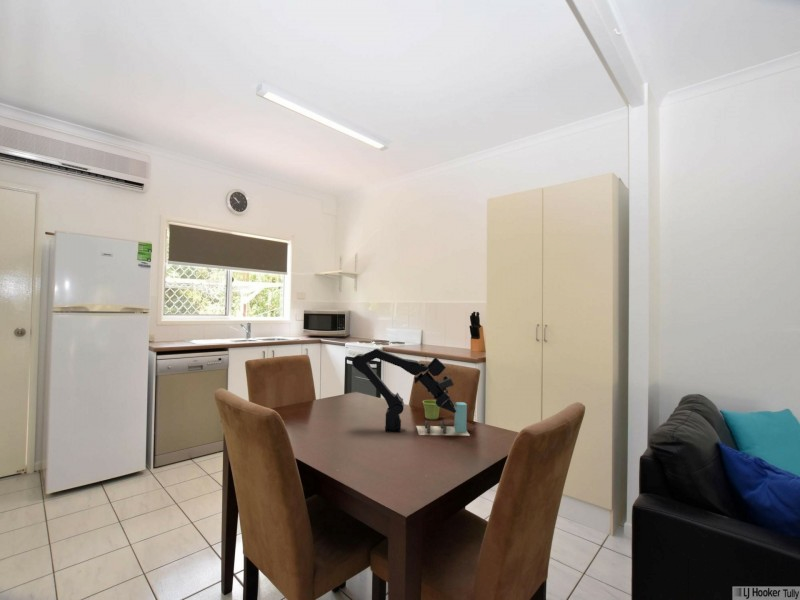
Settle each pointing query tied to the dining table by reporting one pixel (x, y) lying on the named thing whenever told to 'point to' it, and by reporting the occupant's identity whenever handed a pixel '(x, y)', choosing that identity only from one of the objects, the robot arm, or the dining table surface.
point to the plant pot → (431, 409)
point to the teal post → (460, 416)
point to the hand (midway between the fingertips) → (454, 409)
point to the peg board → (438, 430)
